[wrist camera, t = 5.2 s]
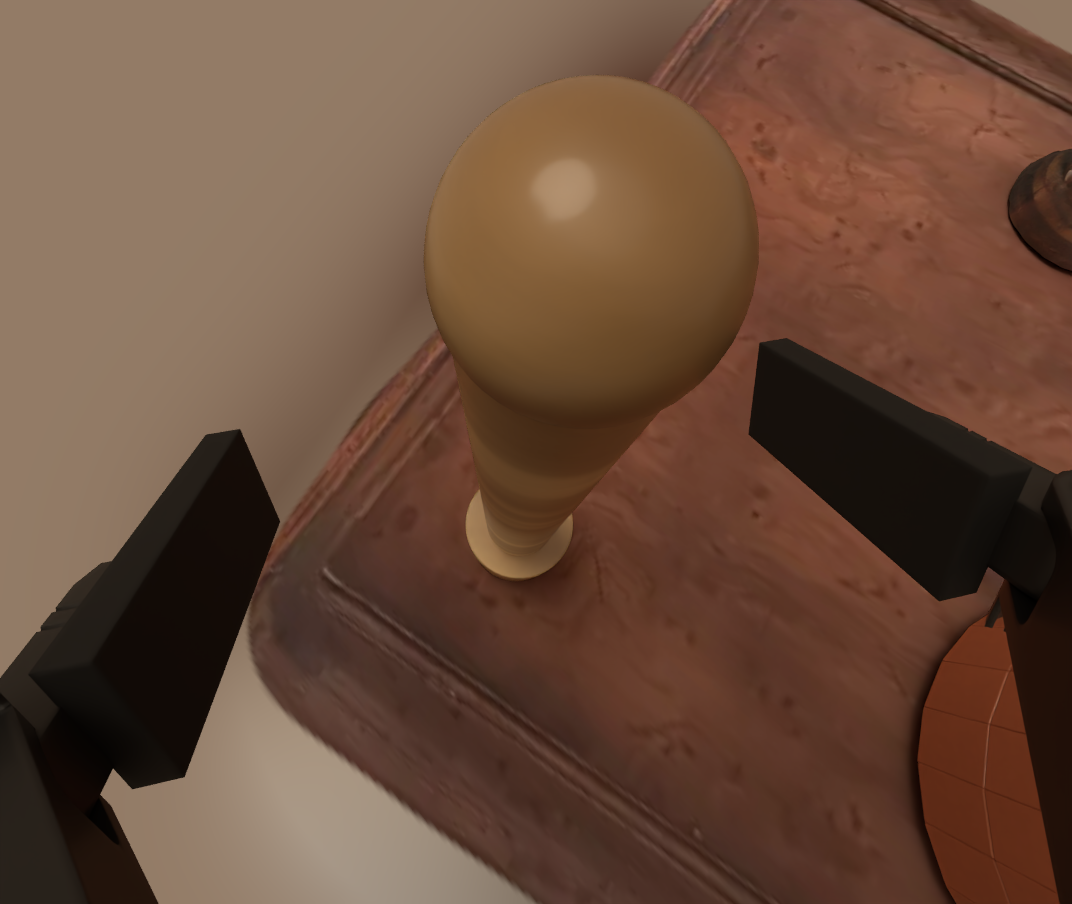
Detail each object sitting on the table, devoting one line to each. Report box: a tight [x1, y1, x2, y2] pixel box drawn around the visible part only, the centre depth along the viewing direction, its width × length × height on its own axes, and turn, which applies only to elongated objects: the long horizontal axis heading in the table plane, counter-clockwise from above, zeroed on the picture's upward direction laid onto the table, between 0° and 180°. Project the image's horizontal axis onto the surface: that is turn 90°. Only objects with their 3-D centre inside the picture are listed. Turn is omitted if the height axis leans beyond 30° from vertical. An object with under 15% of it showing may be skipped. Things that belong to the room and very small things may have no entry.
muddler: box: [424, 75, 759, 581], centre depth 13 cm, size 4×4×21 cm
